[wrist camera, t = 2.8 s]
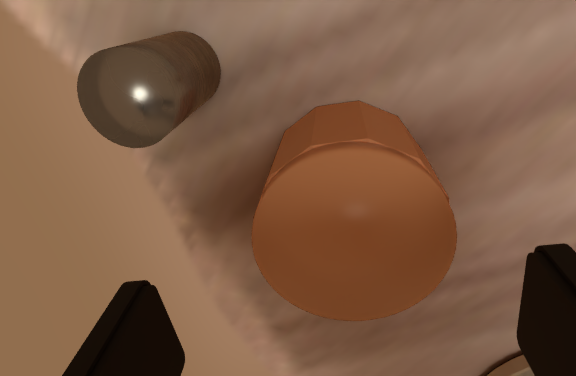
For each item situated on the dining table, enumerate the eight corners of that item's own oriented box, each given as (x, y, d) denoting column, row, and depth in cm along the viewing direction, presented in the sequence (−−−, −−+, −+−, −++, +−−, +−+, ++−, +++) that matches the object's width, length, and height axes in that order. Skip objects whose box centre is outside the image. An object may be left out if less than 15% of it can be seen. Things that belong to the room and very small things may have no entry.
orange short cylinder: (422, 228, 20) (455, 316, 14) (287, 240, 21) (271, 325, 16) (418, 91, 17) (459, 138, 11) (261, 114, 18) (231, 166, 13)
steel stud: (227, 99, 18) (187, 141, 13) (163, 109, 18) (99, 153, 13) (210, 25, 16) (156, 39, 11) (140, 38, 17) (60, 57, 12)
